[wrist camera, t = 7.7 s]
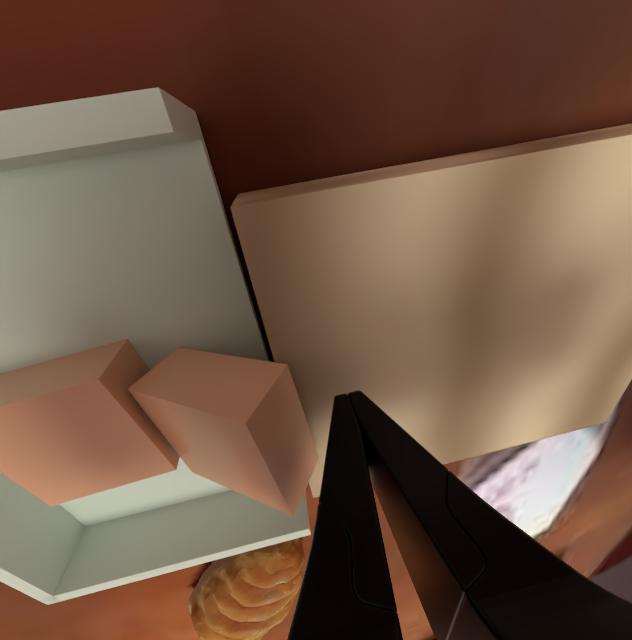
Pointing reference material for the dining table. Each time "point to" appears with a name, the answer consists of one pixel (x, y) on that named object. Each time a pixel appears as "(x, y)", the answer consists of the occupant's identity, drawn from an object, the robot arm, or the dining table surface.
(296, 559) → the pastry
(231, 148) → the dining table surface
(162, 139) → the tray
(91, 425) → the tile
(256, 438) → the tile
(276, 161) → the dining table surface
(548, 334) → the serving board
